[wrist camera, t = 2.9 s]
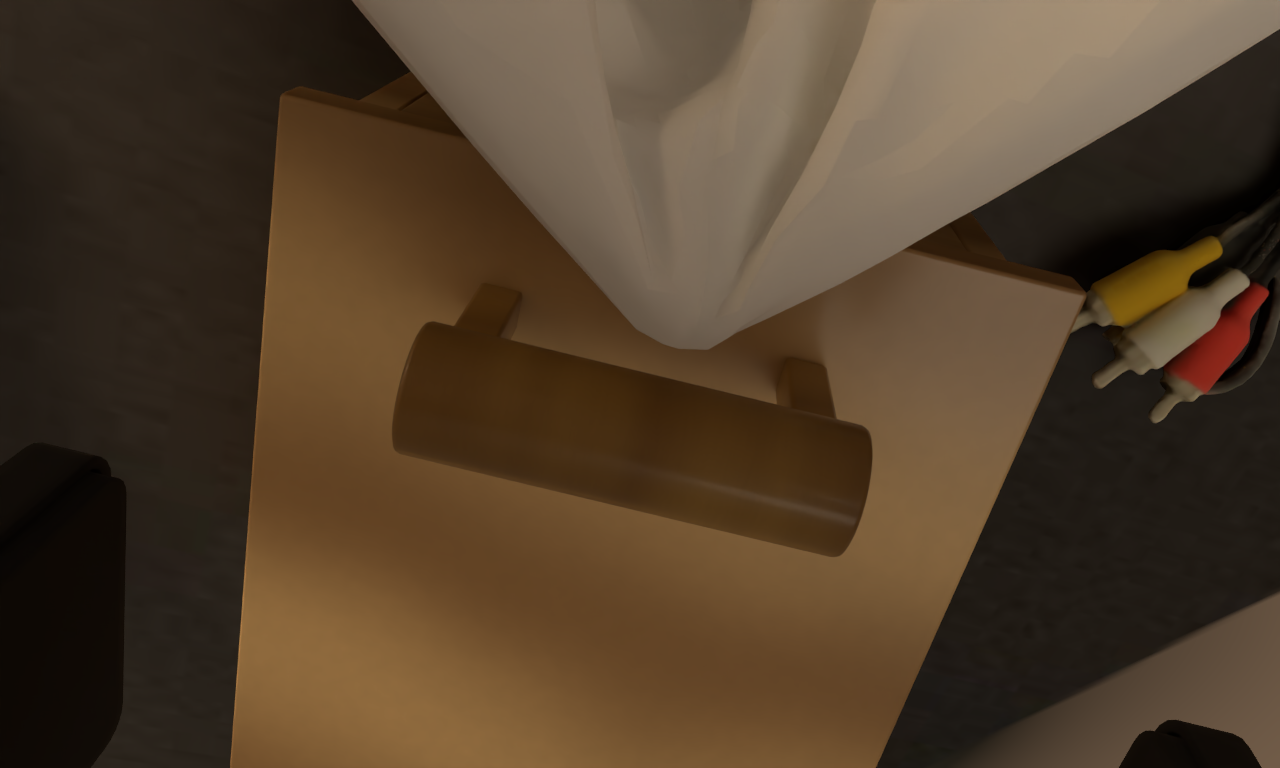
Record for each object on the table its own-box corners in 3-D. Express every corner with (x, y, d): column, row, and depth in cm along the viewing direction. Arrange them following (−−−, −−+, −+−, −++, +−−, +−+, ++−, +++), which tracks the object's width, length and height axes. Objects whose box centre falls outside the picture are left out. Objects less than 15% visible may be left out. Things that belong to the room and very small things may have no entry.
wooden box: (430, 58, 24) (295, 133, 17) (955, 189, 24) (1053, 320, 17) (362, 563, 30) (242, 781, 23) (780, 662, 31) (796, 909, 23)
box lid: (298, 84, 16) (131, 157, 12) (1074, 276, 17) (1201, 419, 12) (241, 784, 23) (121, 1001, 18) (796, 911, 23) (811, 1156, 19)
